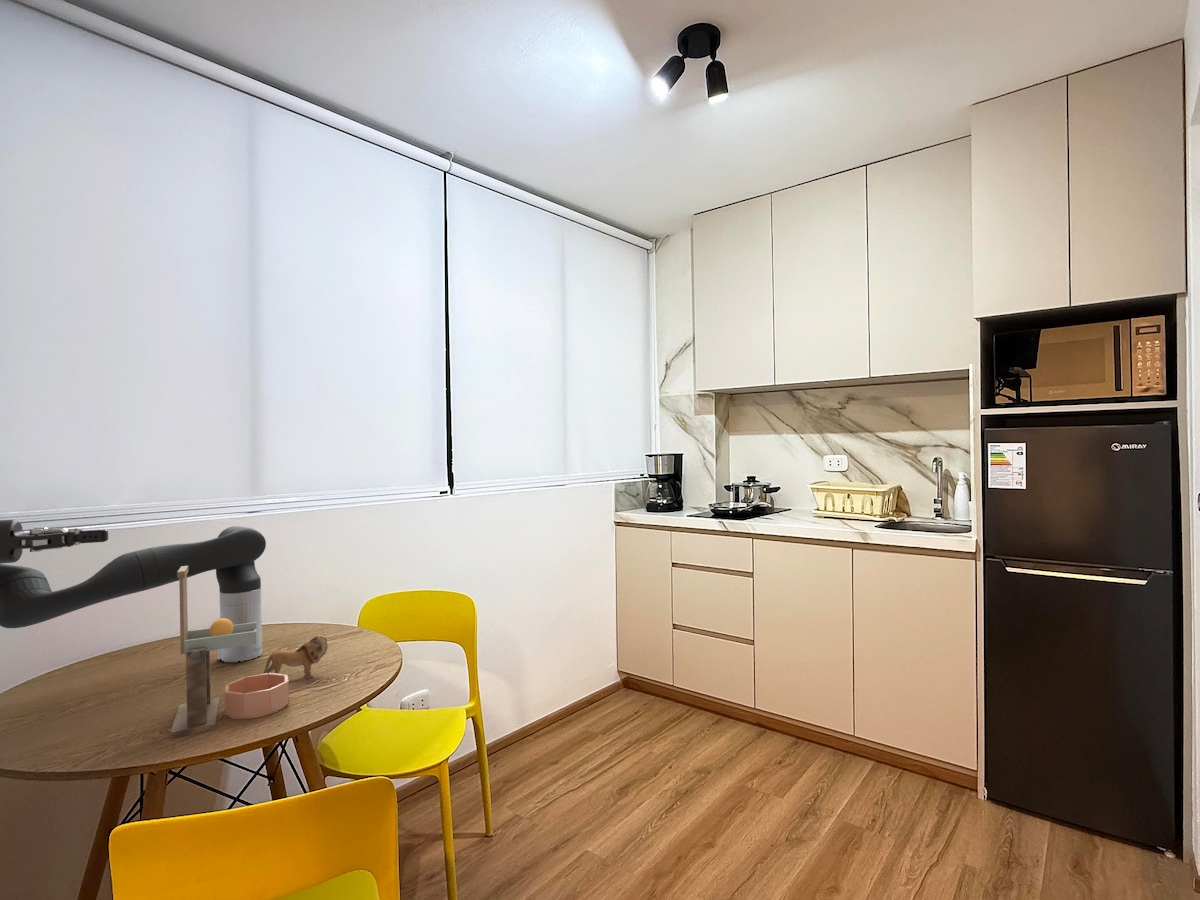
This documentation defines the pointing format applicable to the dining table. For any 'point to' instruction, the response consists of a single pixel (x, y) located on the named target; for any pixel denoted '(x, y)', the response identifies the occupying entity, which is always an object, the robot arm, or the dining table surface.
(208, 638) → the tipping tray
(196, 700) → the stand
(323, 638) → the lion figurine
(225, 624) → the ball
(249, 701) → the bowl
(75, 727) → the dining table surface
